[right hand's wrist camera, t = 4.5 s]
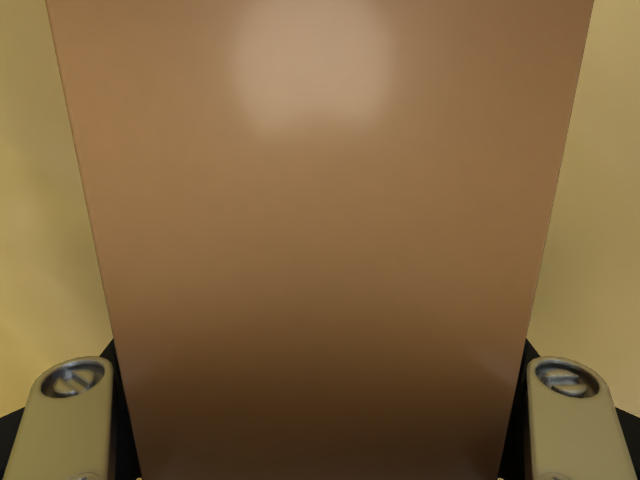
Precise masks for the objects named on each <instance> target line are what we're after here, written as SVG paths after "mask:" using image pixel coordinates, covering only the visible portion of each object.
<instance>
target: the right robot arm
mask: <svg viewBox="0 0 640 480" xmlns="http://www.w3.org/2000/svg"><path fill="white" fill-rule="evenodd" d="M137 478H142V477H141V472H140V467H139V462H138V457H137V452H136V447H135V442H134V437H133V432H132V427H131V422H130V417H129V412H128V407H127V402H126V397H125V392H124V388H123V383H122V378H121V373H120V368H119V363H118V358H117V353H116V348H115V343H114V338H113V339H112V341H111V342H110V343H109V345H108V346H107V347H106V348H105V350H104V351H103V352H102V354H101V355H100V356H99V357H96V356H86V357H78V358H74V359H71V360H67V361H64V362H62V363H60V364H57V365H55V366H53V367H52V368H50V369H48V370H47V371H45V372H44V373H43V374H42V375H40V376H39V377H38V378H37V379H36V380H35V382H34V384H33V386H32V387H31V391H30V394H29V397H28V400H27V403H26V406H25V407H24V408H21V409H19V410H17V411H15V412H12V413H10V414H8V415H6V416H3V417H1V418H0V480H136V479H137ZM498 478H503V479H504V480H640V418H639V417H636V416H634V415H632V414H630V413H627V412H625V411H623V410H621V409H618V408H616V407H615V406H614V403H613V400H612V397H611V394H610V391H609V387H608V386H607V384H606V382H605V380H604V379H603V378H602V377H601V376H600V375H598V374H597V373H596V372H595V371H593V370H592V369H590V368H588V367H587V366H585V365H583V364H580V363H578V362H576V361H573V360H569V359H566V358H562V357H554V356H544V357H540V355H539V354H538V353H537V352H536V350H535V349H534V348H533V346H532V345H531V344H530V342H529V341H528V340H527V339H526V340H525V345H524V350H523V355H522V360H521V365H520V370H519V375H518V380H517V385H516V390H515V395H514V400H513V405H512V410H511V415H510V420H509V424H508V429H507V434H506V439H505V444H504V449H503V454H502V459H501V464H500V469H499V474H498Z"/></svg>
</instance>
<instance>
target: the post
mask: <svg viewBox="0 0 640 480" xmlns="http://www.w3.org/2000/svg"><path fill="white" fill-rule="evenodd" d="M45 2H46V7H47V12H48V17H49V22H50V27H51V32H52V36H53V41H54V46H55V51H56V56H57V61H58V66H59V71H60V76H61V81H62V86H63V91H64V96H65V101H66V106H67V111H68V116H69V121H70V125H71V130H72V135H73V140H74V145H75V150H76V155H77V160H78V165H79V170H80V175H81V180H82V185H83V190H84V195H85V200H86V205H87V210H88V214H89V219H90V224H91V229H92V234H93V239H94V244H95V249H96V254H97V259H98V264H99V269H100V274H101V279H102V284H103V289H104V294H105V299H106V303H107V308H108V313H109V318H110V323H111V328H112V333H113V338H114V343H115V348H116V353H117V358H118V363H119V368H120V373H121V378H122V383H123V388H124V392H125V397H126V402H127V407H128V412H129V417H130V422H131V427H132V432H133V437H134V442H135V447H136V452H137V457H138V462H139V467H140V472H141V477H142V480H497V479H498V474H499V469H500V464H501V459H502V454H503V449H504V444H505V439H506V434H507V429H508V424H509V420H510V415H511V410H512V405H513V400H514V395H515V390H516V385H517V380H518V375H519V370H520V365H521V360H522V355H523V350H524V345H525V340H526V335H527V330H528V325H529V320H530V315H531V310H532V305H533V300H534V295H535V290H536V286H537V281H538V276H539V271H540V266H541V261H542V256H543V251H544V246H545V241H546V236H547V231H548V226H549V221H550V216H551V211H552V206H553V201H554V196H555V191H556V186H557V181H558V176H559V171H560V166H561V161H562V157H563V152H564V147H565V142H566V137H567V132H568V127H569V122H570V117H571V112H572V107H573V102H574V97H575V92H576V87H577V82H578V77H579V72H580V67H581V62H582V57H583V52H584V47H585V42H586V37H587V32H588V28H589V23H590V18H591V13H592V8H593V3H594V0H45Z"/></svg>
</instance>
